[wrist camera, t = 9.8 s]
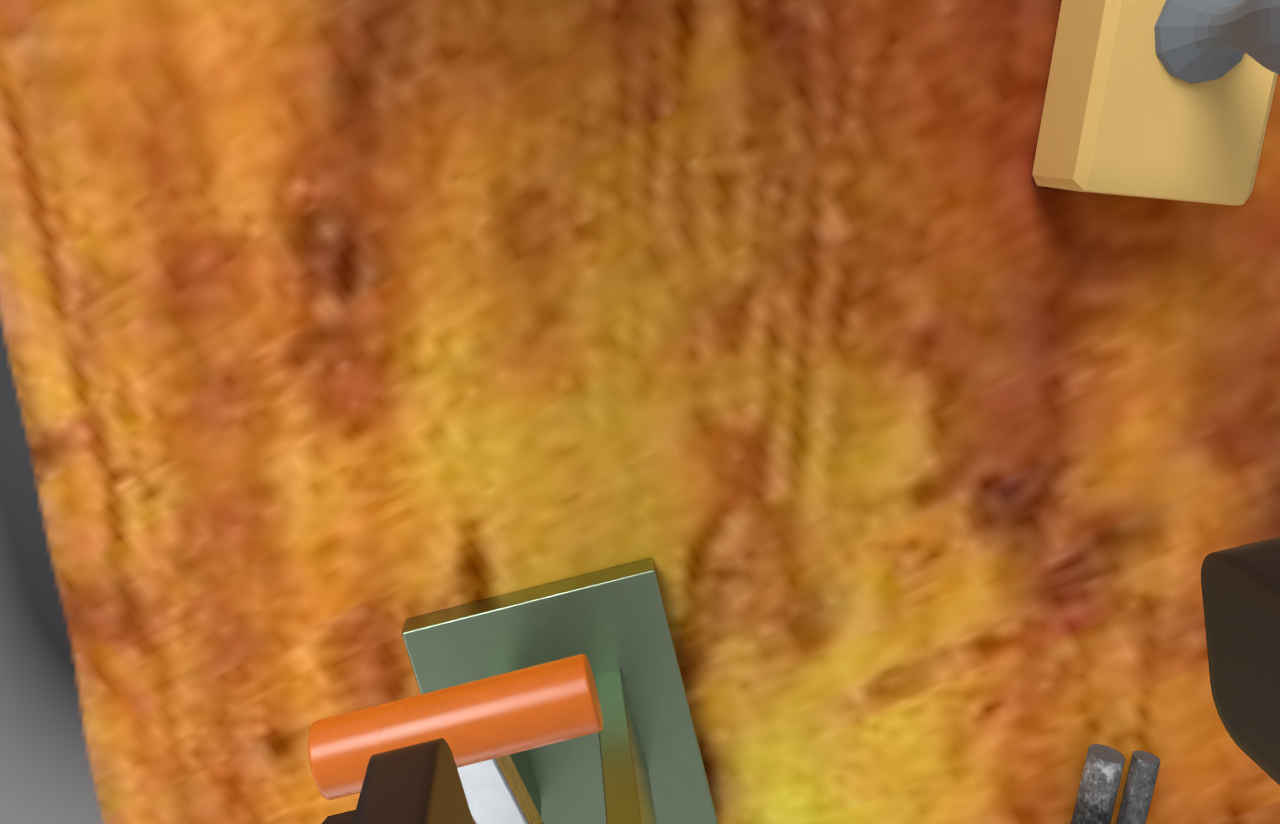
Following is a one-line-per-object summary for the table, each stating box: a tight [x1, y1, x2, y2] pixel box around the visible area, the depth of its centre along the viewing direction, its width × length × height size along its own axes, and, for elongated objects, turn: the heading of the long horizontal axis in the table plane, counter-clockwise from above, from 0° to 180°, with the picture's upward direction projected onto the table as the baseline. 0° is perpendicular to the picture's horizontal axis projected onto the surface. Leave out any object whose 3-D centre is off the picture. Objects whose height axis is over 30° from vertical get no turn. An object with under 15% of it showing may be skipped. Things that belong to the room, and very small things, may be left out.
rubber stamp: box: [1032, 0, 1280, 205], centre depth 32 cm, size 10×6×12 cm, turn 175°
